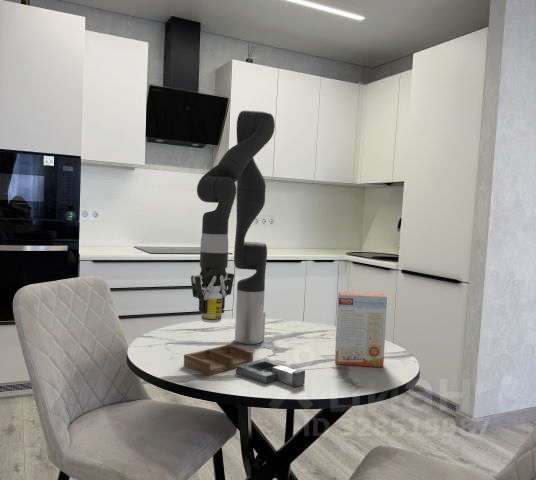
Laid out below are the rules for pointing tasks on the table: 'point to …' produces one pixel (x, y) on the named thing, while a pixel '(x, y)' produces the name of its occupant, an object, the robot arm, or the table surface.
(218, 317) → the supplement bottle
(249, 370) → the socket
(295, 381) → the silver rectangular block
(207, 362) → the brown wooden divided tray
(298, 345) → the table surface
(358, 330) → the cracker box
